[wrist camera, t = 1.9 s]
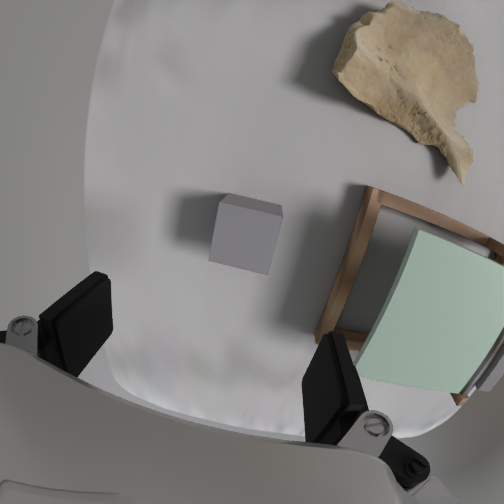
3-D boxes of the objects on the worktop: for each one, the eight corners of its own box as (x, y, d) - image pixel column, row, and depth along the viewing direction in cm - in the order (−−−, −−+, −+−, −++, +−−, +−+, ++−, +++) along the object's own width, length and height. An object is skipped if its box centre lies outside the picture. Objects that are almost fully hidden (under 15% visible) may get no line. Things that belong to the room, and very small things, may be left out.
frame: (366, 185, 24) (421, 208, 14) (504, 245, 24) (557, 278, 13) (314, 333, 30) (325, 407, 20) (452, 351, 30) (484, 401, 20)
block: (230, 193, 25) (219, 202, 21) (281, 205, 25) (283, 217, 21) (220, 241, 27) (208, 260, 22) (269, 253, 27) (267, 275, 22)
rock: (487, 80, 17) (509, 79, 13) (447, 178, 24) (470, 187, 20) (371, -13, 15) (384, -30, 11) (316, 85, 21) (324, 76, 17)
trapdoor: (413, 225, 18) (420, 230, 17) (541, 285, 15) (549, 292, 13) (350, 365, 23) (350, 376, 22) (481, 389, 20) (484, 397, 18)
